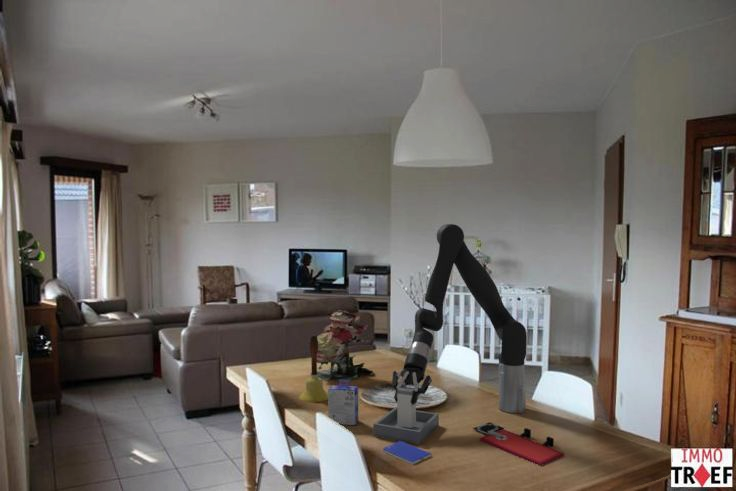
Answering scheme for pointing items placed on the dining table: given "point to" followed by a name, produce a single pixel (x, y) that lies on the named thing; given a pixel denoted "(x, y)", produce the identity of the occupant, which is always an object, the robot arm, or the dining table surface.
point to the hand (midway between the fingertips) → (404, 402)
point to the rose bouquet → (340, 347)
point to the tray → (414, 435)
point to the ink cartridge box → (343, 403)
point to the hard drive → (406, 452)
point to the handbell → (314, 378)
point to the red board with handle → (519, 444)
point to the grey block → (405, 407)
